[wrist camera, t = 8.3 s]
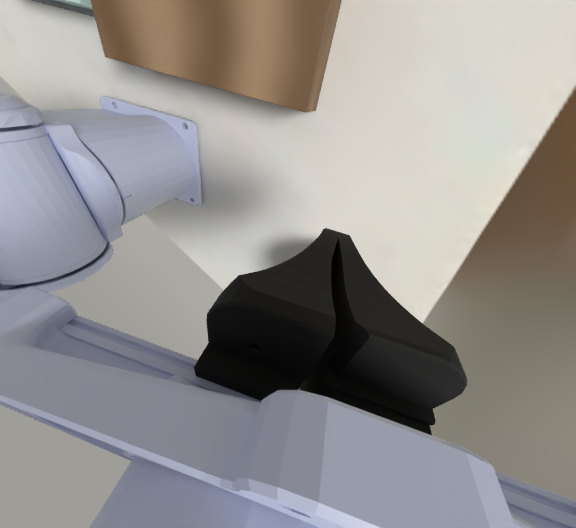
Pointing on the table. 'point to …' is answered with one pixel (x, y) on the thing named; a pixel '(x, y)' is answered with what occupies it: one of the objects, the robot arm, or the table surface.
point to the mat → (68, 6)
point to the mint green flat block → (78, 3)
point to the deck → (226, 43)
